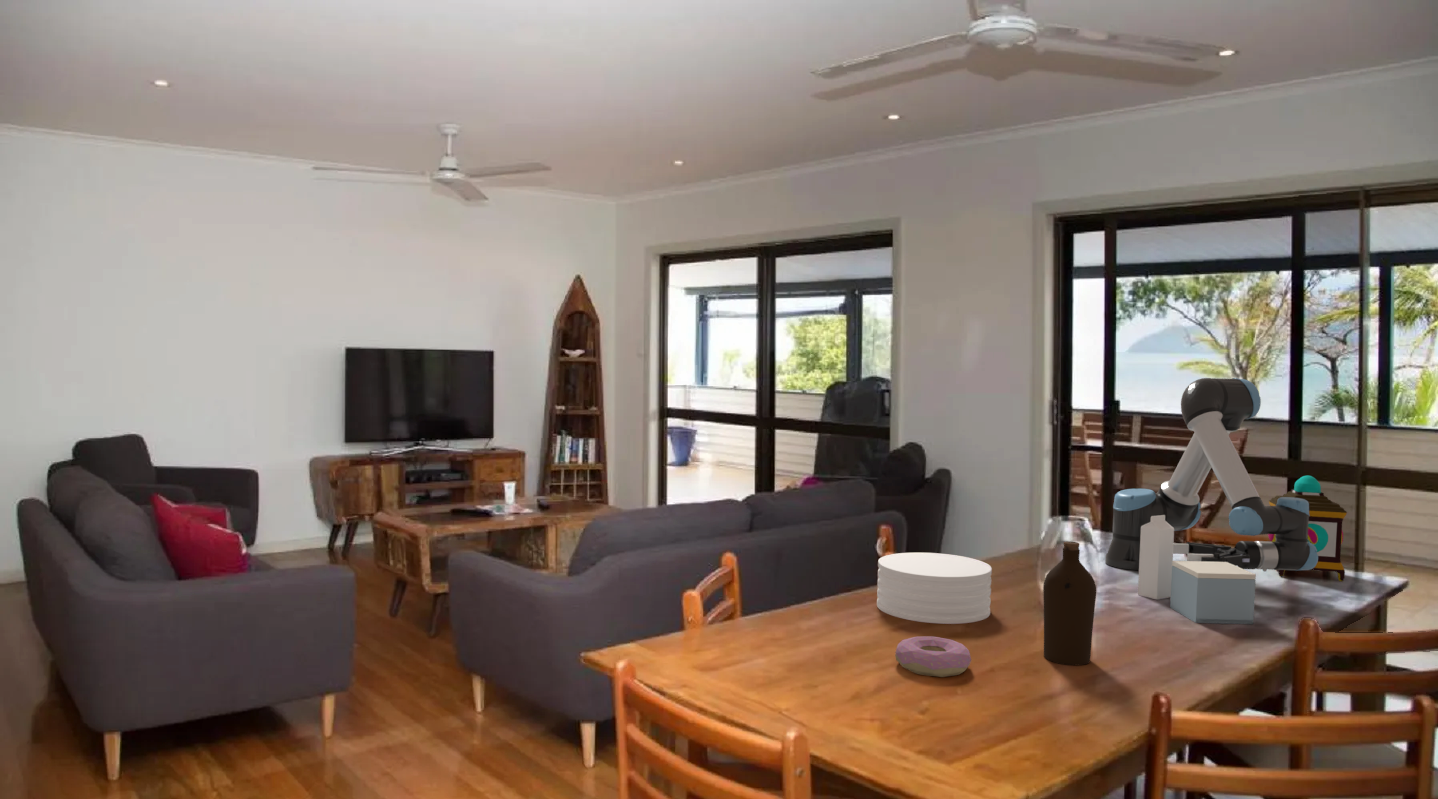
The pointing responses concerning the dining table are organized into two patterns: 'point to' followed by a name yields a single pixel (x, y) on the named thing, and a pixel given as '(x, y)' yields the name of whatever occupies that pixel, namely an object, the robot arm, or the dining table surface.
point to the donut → (933, 656)
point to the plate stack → (934, 587)
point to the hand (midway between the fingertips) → (1175, 553)
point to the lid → (1213, 570)
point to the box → (1212, 598)
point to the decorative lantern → (1320, 524)
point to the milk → (1156, 558)
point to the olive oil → (1069, 609)
